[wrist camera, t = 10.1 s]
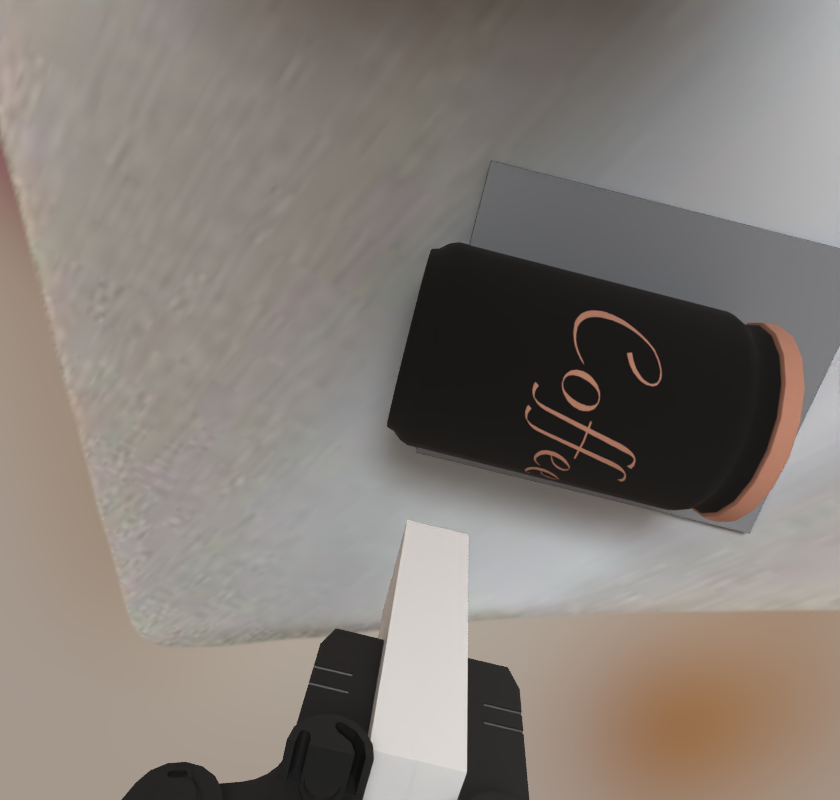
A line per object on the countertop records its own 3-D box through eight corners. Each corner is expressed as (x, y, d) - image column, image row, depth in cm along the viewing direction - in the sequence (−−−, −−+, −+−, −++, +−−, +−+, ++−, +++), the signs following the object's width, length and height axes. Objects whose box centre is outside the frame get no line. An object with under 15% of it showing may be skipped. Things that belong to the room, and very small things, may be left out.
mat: (417, 448, 44) (416, 452, 44) (491, 160, 38) (491, 161, 37) (745, 528, 45) (749, 533, 44) (874, 257, 38) (880, 259, 38)
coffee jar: (431, 240, 29) (838, 345, 30) (436, 232, 40) (738, 310, 40) (374, 469, 32) (746, 562, 32) (393, 406, 42) (675, 477, 43)
